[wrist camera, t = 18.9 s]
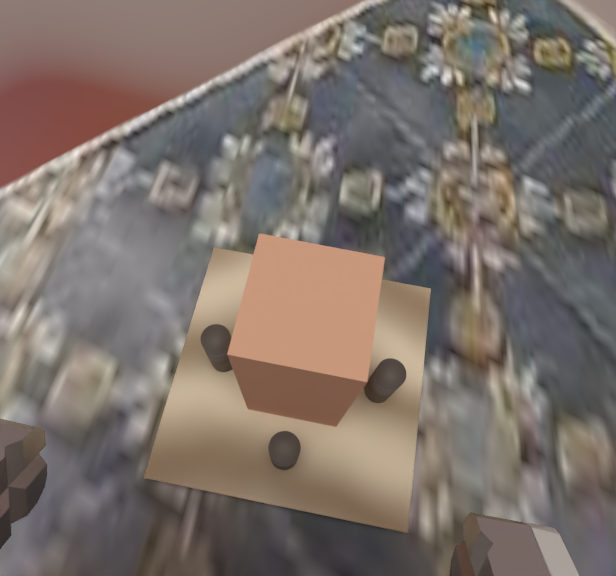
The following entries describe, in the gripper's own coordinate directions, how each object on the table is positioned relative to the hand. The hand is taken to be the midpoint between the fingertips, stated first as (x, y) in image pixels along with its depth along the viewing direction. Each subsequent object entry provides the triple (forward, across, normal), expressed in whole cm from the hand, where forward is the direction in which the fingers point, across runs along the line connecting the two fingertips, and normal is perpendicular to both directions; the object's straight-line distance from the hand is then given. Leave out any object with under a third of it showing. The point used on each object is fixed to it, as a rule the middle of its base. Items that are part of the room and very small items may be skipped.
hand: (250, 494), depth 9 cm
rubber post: (+17, 0, +8) cm, 19 cm away
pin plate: (+18, 0, +9) cm, 20 cm away
